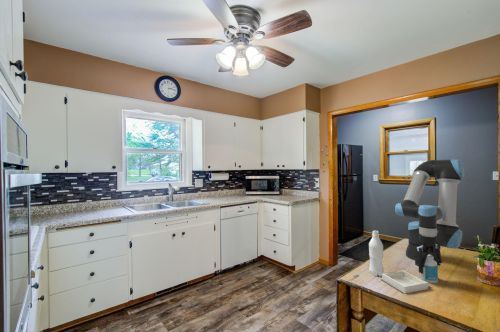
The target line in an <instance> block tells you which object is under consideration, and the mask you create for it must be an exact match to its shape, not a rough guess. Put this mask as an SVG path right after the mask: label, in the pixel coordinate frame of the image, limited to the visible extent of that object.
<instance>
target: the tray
mask: <svg viewBox="0 0 500 332" xmlns="http://www.w3.org/2000/svg"><path fill="white" fill-rule="evenodd" d="M381 280H384V281H385V282H387V283H389V284H390V285H392V286H393V287H395V288H397V289H398V290H400V291H402V292H403V293H405V294H409V293H413V292H414V293H415V292H419V291H425V289H426V290H429V289H428V286H429V282H426V281H424V280H422V279H421V278H419V277H418V276H416V275H413V274H412V273H410V272H407V271H406V270H403V269H402V270H397V271H391V272H390V271H389V272H384V273H383V274H382V276H381ZM385 282H384V283H385ZM393 287H392V288H393ZM398 290H397V291H398Z"/></svg>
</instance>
